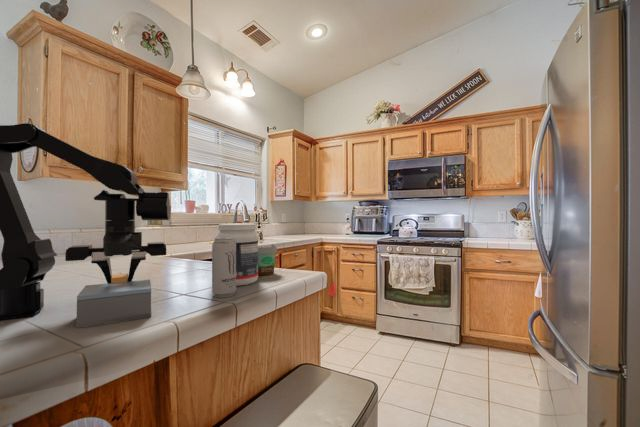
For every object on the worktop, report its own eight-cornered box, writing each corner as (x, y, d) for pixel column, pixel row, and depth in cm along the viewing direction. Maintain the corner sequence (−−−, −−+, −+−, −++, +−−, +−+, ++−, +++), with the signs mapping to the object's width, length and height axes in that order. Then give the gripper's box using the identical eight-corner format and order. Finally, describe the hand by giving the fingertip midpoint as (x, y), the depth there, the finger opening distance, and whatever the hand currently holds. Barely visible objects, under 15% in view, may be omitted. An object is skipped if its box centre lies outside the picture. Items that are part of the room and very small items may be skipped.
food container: (258, 278, 99) (258, 248, 99) (246, 276, 103) (246, 247, 103) (284, 273, 109) (284, 245, 109) (272, 271, 112) (272, 244, 112)
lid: (76, 306, 55) (76, 289, 55) (88, 289, 67) (88, 276, 67) (151, 297, 62) (151, 282, 62) (149, 283, 74) (149, 271, 74)
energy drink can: (226, 298, 75) (226, 239, 75) (206, 296, 77) (207, 238, 77) (240, 293, 81) (240, 237, 81) (222, 291, 83) (222, 236, 83)
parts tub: (76, 328, 55) (76, 301, 55) (85, 313, 64) (85, 289, 64) (151, 317, 61) (151, 292, 62) (150, 304, 70) (150, 283, 70)
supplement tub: (206, 283, 92) (206, 223, 92) (239, 276, 102) (239, 223, 103) (234, 289, 85) (234, 224, 85) (266, 281, 95) (266, 223, 95)
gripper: (59, 221, 57) (58, 303, 57) (168, 220, 67) (167, 290, 67) (71, 220, 67) (70, 290, 67) (164, 220, 77) (164, 281, 76)
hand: (120, 288), depth 69 cm, fingers closed on lid, 3 cm apart
